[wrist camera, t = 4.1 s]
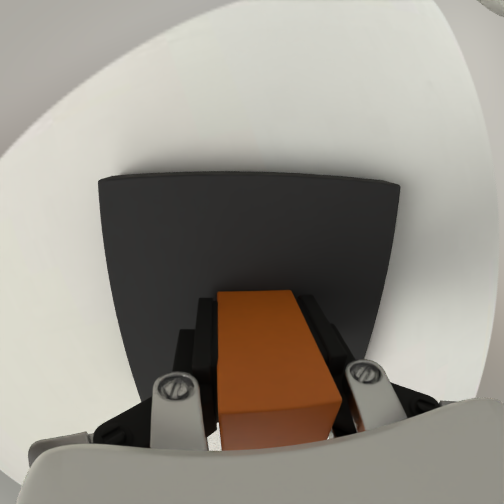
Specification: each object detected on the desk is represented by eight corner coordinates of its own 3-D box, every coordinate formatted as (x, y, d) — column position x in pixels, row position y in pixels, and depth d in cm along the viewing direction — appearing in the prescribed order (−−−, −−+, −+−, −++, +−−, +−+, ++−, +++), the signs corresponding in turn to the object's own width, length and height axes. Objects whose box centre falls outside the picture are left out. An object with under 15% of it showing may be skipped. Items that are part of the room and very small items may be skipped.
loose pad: (334, 406, 17) (370, 494, 10) (155, 415, 16) (142, 514, 9) (383, 180, 12) (514, 224, 5) (110, 176, 11) (-13, 221, 4)
